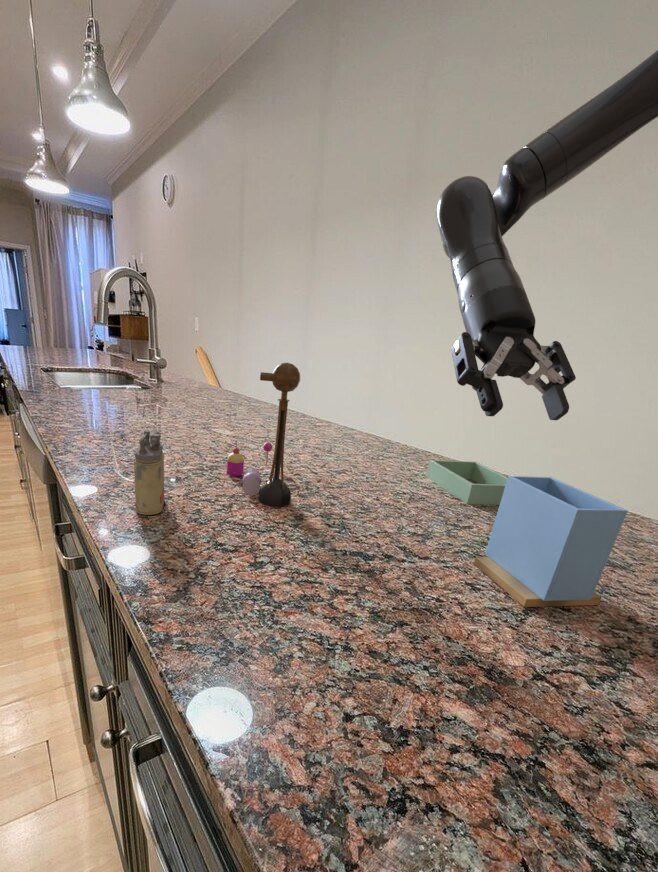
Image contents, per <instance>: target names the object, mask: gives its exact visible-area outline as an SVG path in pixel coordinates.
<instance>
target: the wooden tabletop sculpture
mask: <svg viewBox="0 0 658 872" xmlns="http://www.w3.org/2000/svg"><path fill="white" fill-rule="evenodd" d="M259 380H260V381H264V382H271V383H272V385H273V387H274V389H276V391H279V392H281V395H280V398H278V399H277V401H279V402H278V415H277V423H276V424H277V425H276V433H275V444H274V452H273V459H272V464H271V470H270V473H269V478H268V481H266V482H265V483H264V484H263V486H262V487H261V489H260V491H259V493H258V502H259V503H260V504H261V505H264V506H266V507H270V508H285V507H288V506H290V504H291V501H292V493H291V490H290V487H289V486H288V485H287V484H286V482H284V481H285V479H284V478H285V477H284V457H285V440H286V427H287V416H288V406H289V402H290V399H288V393H289V392H294V390H296V389H297V388H298V387H299V385H300V382H301V372H300V371H299V368H298V367H297V366H296V365H294V364H293V363H290V362H282V363H279V364H278V365H277V366H275V368H274V370H273V371H272V372H260V376H259Z"/></svg>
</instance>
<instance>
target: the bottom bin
mask: <svg viewBox="0 0 658 872" xmlns="http://www.w3.org/2000/svg"><path fill="white" fill-rule="evenodd" d="M425 478H427V479H429V480H430V481H432V482H433V483H435V484H436V485H438V486H439V487H441V488H442V489H444V490H445V491H446V492H448V493H449V494H451V495H453V496H454V497H456V498H457V499H459V500H460V501H462V502H463V503H465V504H466V505H499V506H500V502H501V499H502V496H503V492H504V489H505V486H506V482H507V479H508V476H506V475H504V474H502V473H500V472H498V471H496V470H494V469H492V468H490V467H488V466H486V465H484V464H482V463H480V462H478V461H470V460H469V461H465V460H441V459H429V460H428V465H427V470H426V474H425ZM469 480H472V481H474V482H475V483H473V482H471V481H469Z"/></svg>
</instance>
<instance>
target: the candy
mask: <svg viewBox="0 0 658 872" xmlns="http://www.w3.org/2000/svg"><path fill="white" fill-rule="evenodd" d="M262 448H263V450H264V452H266V454H265V456H266V457H265V466H268V459H269V452H271V451H272V450H273V444H272V443H271V442H269V441H268V442H265V443H263V447H262ZM244 467H245V458H244V456H243V454H241V453H240V448H239V447H238V439H236V440H235V447H234V448H233V449H232V452H231V453H230V454H228V456H227V459H226V474H227V475H228V476H229V477H233V478H235V477H236V478H237V477H241V476H243V478H242V486H241V487H242V489H243V490H242V491H243V493H244V494H246V495H247V496H250V497H252V496H255V495H259V493H260V491H261V489H262V487H261V484H262V483H263V481H262V479H261V474H260V471H259V470H258V469H257V468H255V467H253V466H251V467H249V468H245V470H244Z"/></svg>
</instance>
